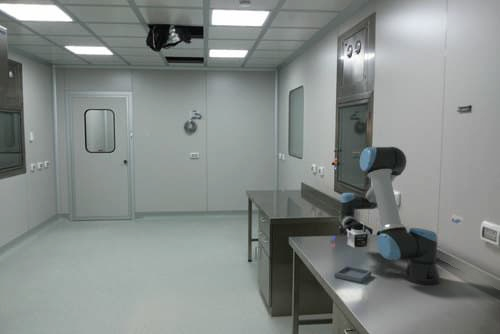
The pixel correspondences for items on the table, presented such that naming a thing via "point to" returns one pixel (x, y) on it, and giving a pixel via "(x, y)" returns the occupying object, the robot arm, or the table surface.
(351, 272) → the tray
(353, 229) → the medicine bottle
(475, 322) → the table surface
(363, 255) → the table surface
